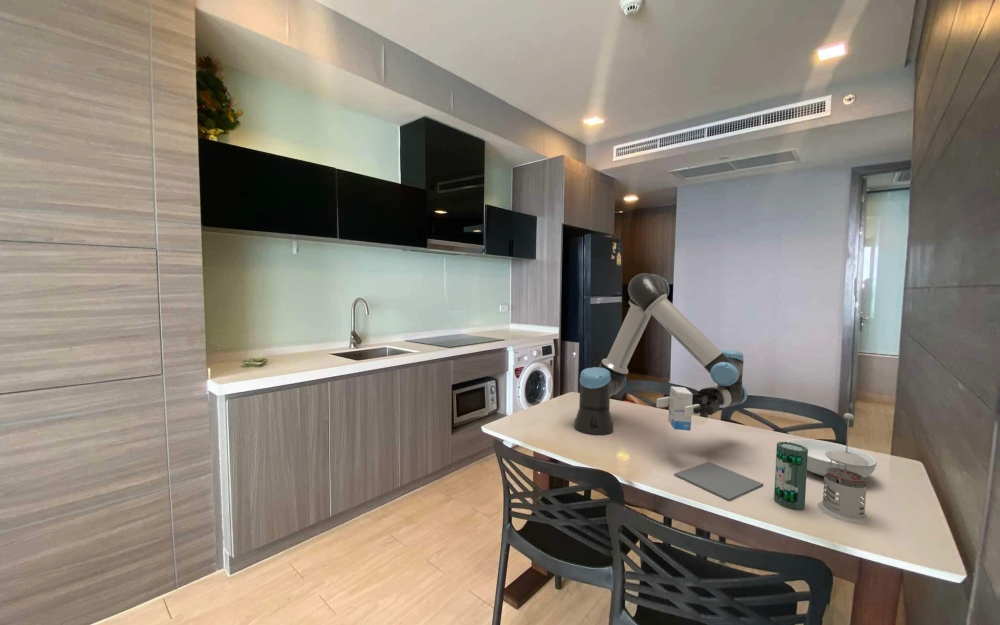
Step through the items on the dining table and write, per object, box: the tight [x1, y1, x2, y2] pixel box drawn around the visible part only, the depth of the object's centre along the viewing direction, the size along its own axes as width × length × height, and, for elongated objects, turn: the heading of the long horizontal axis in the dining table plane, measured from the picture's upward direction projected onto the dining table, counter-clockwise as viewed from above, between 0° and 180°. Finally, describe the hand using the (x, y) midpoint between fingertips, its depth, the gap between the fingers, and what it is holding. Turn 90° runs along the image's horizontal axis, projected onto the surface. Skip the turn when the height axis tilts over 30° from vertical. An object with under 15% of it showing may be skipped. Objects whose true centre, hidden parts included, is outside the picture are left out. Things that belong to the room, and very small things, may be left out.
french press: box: [817, 412, 871, 525], centre depth 95 cm, size 10×12×25 cm
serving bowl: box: [786, 438, 878, 480], centre depth 117 cm, size 21×21×7 cm
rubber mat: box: [674, 461, 764, 502], centre depth 110 cm, size 16×17×1 cm
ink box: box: [667, 385, 694, 431], centre depth 121 cm, size 9×5×12 cm, turn 169°
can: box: [773, 441, 808, 511], centre depth 99 cm, size 6×6×15 cm
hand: (671, 407), depth 119 cm, fingers closed on ink box, 9 cm apart
